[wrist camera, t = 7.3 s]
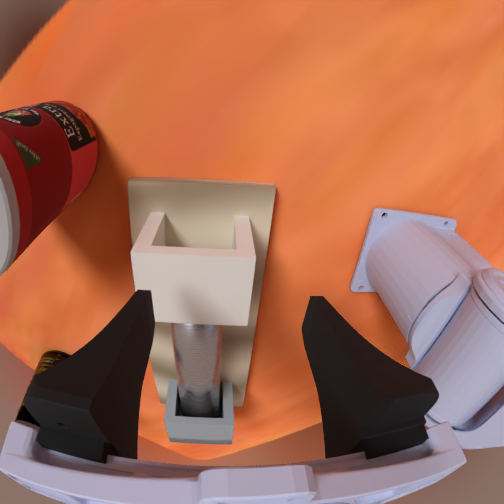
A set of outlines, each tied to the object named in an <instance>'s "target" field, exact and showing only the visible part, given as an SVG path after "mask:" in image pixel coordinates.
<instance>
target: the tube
mask: <svg viewBox="0 0 504 504" xmlns="http://www.w3.org/2000/svg"><path fill="white" fill-rule="evenodd" d="M222 330H223V325H207V324H187V323H171V333H172V342H173V351H174V359H175V367H176V374H177V381H178V388H179V395H180V401H181V410H182V415H183V417H201V418H218V415H219V392H220V370H221V349H222Z"/></svg>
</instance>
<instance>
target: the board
mask: <svg viewBox="0 0 504 504" xmlns="http://www.w3.org/2000/svg"><path fill="white" fill-rule="evenodd" d="M275 192H276V187H275V185H274V184H273V183H261V182H247V181H232V180H214V179H192V178H156V177H131V178H130V180H129V181H128V200H129V215H130V227H131V238H132V248H133V246H134V244H135V242H136V240H137V238H138V236H139V234H140V232H141V230H142V228H143V226H144V224H145V222H146V220H147V219H148V217H149V215H150V213H151V212H162V213H165V236H166V246H168V247H190V248H211V249H232V238H233V226H234V216H248V217H249V220H250V226H251V232H252V237H253V243H254V249H255V255H256V263H255V271H254V279H253V286H252V294H251V302H250V310H249V317H248V325H247V326H237V325H223V330H222V349H221V370H220V392H219V400H222V385H223V382H232V392H233V407H243V403H244V397H245V391H246V385H247V379H248V372H249V366H250V360H251V354H252V347H253V341H254V334H255V328H256V322H257V315H258V309H259V302H260V295H261V289H262V282H263V275H264V269H265V262H266V255H267V248H268V241H269V234H270V227H271V220H272V213H273V206H274V199H275ZM150 361H151V365H152V370H153V374H154V379H155V383H156V387H157V391H158V395H159V399H160V403H164V404H166V399H167V390H168V382H169V379H173V380H177V374H176V367H175V359H174V351H173V342H172V333H171V323H170V322H155V330H154V338H153V344H152V348H151V352H150Z"/></svg>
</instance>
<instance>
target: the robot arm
mask: <svg viewBox="0 0 504 504" xmlns="http://www.w3.org/2000/svg"><path fill="white" fill-rule="evenodd" d="M383 213H385V215H384V216H383V217H382V214H383ZM444 223H445V224H444ZM456 224H457V222H456V220H455V219H453V218H447V217H441V216H435V215H428V214H422V213H415V212H408V211H401V210H394V209H386V208H375V209H374V210H373V212H372V215H371V218H370V222H369V225H368V229H367V233H366V236H365V239H364V243H363V246H362V250H361V253H360V256H359V259H358V263H357V266H356V269H355V272H354V275H353V278H352V281H351V284H350V289H351V291H352V292H377V293H378V295H379V297H380V298H381V300H382V301H383V303H384V305H385V306H386V308H387V310H388V311H389V313H390V315H391V316H392V318H393V320H394V322H395V323H396V325H397V327H398V328H399V330H400V332H401V334H402V335H403V337H404V339H405V341H406V342H407V344H408V346H409V351H408V353H407V354H406V356H405V358H406V360H407V362H408V364H409V366H410V368H411V369H409V368H407V367H405V366H403V365H401V364H400V363H398V362H396V361H394V360H393V359H391V358H390V357H388V356H387V355H385V354H384V353H382V352H381V351H380V350H378V349H377V348H376V347H374V346H373V345H372V344H370V343H369V342H368V341H367V340H366V339H364V338H363V337H362V336H361V335H360V334H359V333H358V332H357V331H356V330H355V329H354V328H353V327H352V326H351V325H350V324H349V323H348V322H347V321H346V320H345V319H344V318H343V317H342V316H341V315H340V314H339V313H338V312H337V311H336V310H335V309H334V308H333V306H332V305H331V304H330V303H329V302H328V301H327V300H326V299H325V298H324V297H323V296H310V300H309V304H308V307H307V311H306V314H305V318H304V321H303V325H302V334H303V340H304V346H305V350H306V353H307V357H308V360H309V363H310V367H311V370H312V373H313V376H314V380H315V383H316V387H317V391H318V396H319V402H320V408H321V415H322V422H323V431H324V440H325V455H326V456H325V457H326V459H320V460H313V461H305V462H297V463H287V464H275V465H259V466H197V465H196V466H195V465H180V464H167V463H158V462H150V461H142V460H137V438H138V420H139V408H140V398H141V390H142V384H143V380H144V376H145V372H146V368H147V364H148V360H149V356H150V352H151V348H152V344H153V338H154V330H155V317H154V310H153V302H152V294H151V290H139V289H138V290H137V291H136V292H135V293H134V295H133V296H132V297H131V298H130V299H129V301H128V302H127V303H126V304H125V306H124V307H123V308H122V309H121V310H120V311H119V312H118V314H117V315H116V316H115V317H114V318H113V319H112V320H111V321H110V322H109V323H108V325H107V326H106V327H105V328H104V329H103V330H102V331H101V332H100V333H99V334H97V335H96V336H95V337H94V338H93V339H92V340H91V341H90V342H88V343H87V344H86V345H85V346H84V347H82V348H81V349H79V350H78V351H77V352H75V353H74V354H73V355H71V356H70V357H68V358H66V359H65V360H63V361H62V362H60V363H58V364H56V365H55V366H53V367H51V368H49V369H47V370H45V371H43V372H40V373H38V374H36V375H34V377H33V379H32V381H31V383H30V386H29V389H28V391H27V394H26V396H25V399H24V405H25V407H26V409H27V410H28V412H29V413H30V414H31V415H32V416H33V418H34V419H35V420H36V421H37V422H38V423H39V425H40V429H39V432H38V431H37V430H35V429H33V428H31V427H29V426H26V425H23V424H20V423H17V422H15V421H12V422H11V424H10V427H9V430H8V433H7V436H6V439H5V443H4V446H3V449H2V452H1V456H0V470H1V471H2V472H3V473H5V474H6V475H8V476H9V477H11V478H12V479H14V480H15V481H17V482H18V483H20V484H21V485H23V486H24V487H26V488H28V489H30V490H33V491H35V492H38V493H40V494H43V495H45V496H48V497H50V498H53V499H56V500H58V501H61V502H64V503H67V504H383V503H386V502H389V501H392V500H394V499H397V498H400V497H402V496H405V495H407V494H410V493H412V492H415V491H417V490H419V489H422V488H424V487H426V486H429V485H431V484H433V483H436V482H437V481H439V480H441V479H442V478H444V477H445V476H447V475H448V474H450V473H451V472H453V471H454V470H456V469H457V468H459V467H460V466H461V465H463V464H464V463H466V458H465V456H464V453H463V451H462V449H461V447H462V448H464V449H481V448H491V447H500V446H504V272H503V271H501V270H499V269H496V268H493V267H492V266H491V264H490V263H489V262H488V261H487V260H486V259H485V258H484V257H483V256H482V255H481V254H480V253H479V252H477V251H476V250H475V249H474V248H473V247H472V246H471V245H470V244H469V243H467V242H466V241H465V240H464V239H463V238H462V237H461V236H459V235H458V234H457V233H456V232H455V231H454V230H455V227H456ZM360 286H361V287H360ZM359 287H360V288H359ZM424 425H426V426H427V427H429V428H428V429H427V430H425V427H424Z"/></svg>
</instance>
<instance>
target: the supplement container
mask: <svg viewBox="0 0 504 504" xmlns="http://www.w3.org/2000/svg"><path fill="white" fill-rule="evenodd" d="M68 357H70V355H68V354H66V353H63V352H60V351H48V352H45V353H44V354H43V355H42V356H41V358H40V361H39V363H38V365H37V367H36V370H35V372H34V374H33V377H34V375H36V374H38V373H40V372H43V371H45V370H47V369H49V368H51V367H53V366H55V365H56V364H58V363H60V362H62V361H63V360H65V359H66V358H68ZM33 377H32V379H33ZM32 379H31V381H32ZM31 381H30V383H31ZM29 386H30V384H29ZM29 386H28V389H29ZM28 389H27V391H28ZM27 391H26V394H27ZM26 394H25V396H26ZM25 396H24V399H25ZM24 399H23V401H22V404H21V407H20V409H19V410H18V414H17V417H16V420H15V422H17V423H20V424H23V425H26V426H29V427H31V428H33V429H35V430H37V431H38V432H39V429H40V425H39V423H38V422H37V421H36V420H35V419H34V418H33V416H32V415H31V414H30V413H29V412H28V410H27V409H26V407H25V405H24Z"/></svg>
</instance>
